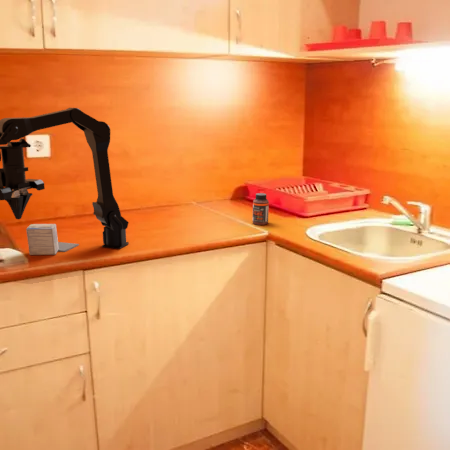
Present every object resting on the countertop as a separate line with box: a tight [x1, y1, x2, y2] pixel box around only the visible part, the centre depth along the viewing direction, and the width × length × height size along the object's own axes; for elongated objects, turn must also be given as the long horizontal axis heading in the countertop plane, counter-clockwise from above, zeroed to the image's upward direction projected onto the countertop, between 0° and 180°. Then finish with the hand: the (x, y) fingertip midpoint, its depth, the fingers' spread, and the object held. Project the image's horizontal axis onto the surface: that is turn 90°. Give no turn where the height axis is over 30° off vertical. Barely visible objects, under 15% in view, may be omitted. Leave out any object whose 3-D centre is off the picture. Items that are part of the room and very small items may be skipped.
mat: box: [57, 241, 80, 253], centre depth 172 cm, size 9×8×1 cm
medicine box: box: [25, 223, 59, 256], centre depth 164 cm, size 8×4×9 cm, turn 92°
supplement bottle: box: [252, 192, 270, 226], centre depth 202 cm, size 6×6×11 cm
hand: (18, 219), depth 153 cm, fingers closed
